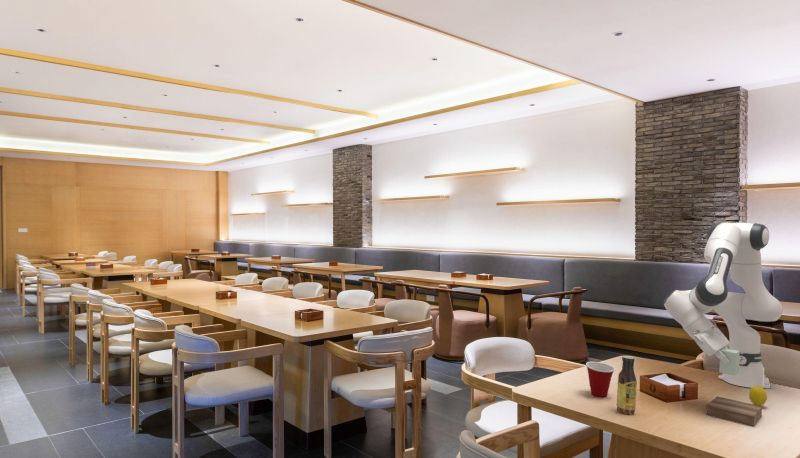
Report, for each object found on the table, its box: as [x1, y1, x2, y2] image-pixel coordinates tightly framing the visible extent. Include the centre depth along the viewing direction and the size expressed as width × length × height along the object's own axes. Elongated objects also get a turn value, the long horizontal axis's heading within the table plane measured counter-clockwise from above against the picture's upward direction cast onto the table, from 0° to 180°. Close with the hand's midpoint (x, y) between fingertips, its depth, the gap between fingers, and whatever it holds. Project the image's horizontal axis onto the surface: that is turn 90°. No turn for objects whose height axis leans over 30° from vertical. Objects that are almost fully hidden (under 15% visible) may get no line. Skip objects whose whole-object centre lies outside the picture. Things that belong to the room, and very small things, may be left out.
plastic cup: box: [585, 361, 616, 399], centre depth 199 cm, size 11×11×12 cm
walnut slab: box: [706, 395, 763, 428], centre depth 180 cm, size 14×14×4 cm
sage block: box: [718, 348, 740, 376], centre depth 182 cm, size 5×5×8 cm
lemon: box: [748, 385, 768, 406], centre depth 190 cm, size 6×6×8 cm
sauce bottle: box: [616, 355, 638, 415], centre depth 182 cm, size 6×6×20 cm
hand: (730, 360), depth 182 cm, fingers closed on sage block, 5 cm apart
